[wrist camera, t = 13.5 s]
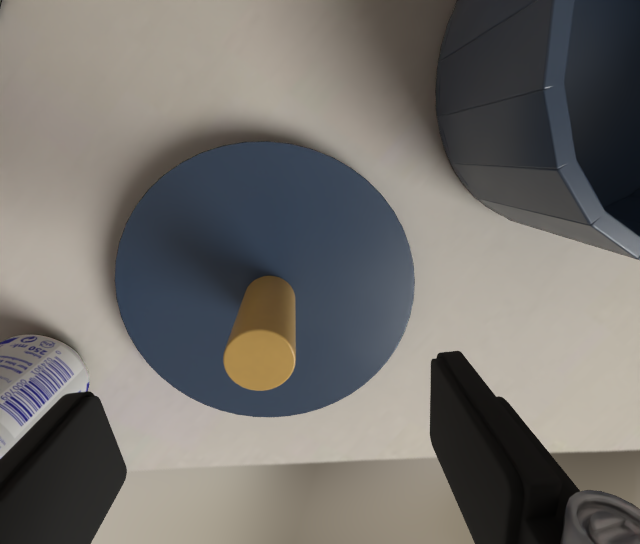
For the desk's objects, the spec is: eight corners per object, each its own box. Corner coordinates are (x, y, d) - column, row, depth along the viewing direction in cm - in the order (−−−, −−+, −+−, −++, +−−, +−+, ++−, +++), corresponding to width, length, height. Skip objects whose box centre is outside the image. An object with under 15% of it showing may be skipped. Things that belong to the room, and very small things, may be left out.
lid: (406, 126, 16) (478, 109, 10) (409, 387, 21) (458, 486, 15) (84, 159, 16) (-57, 163, 9) (165, 419, 21) (109, 535, 14)
